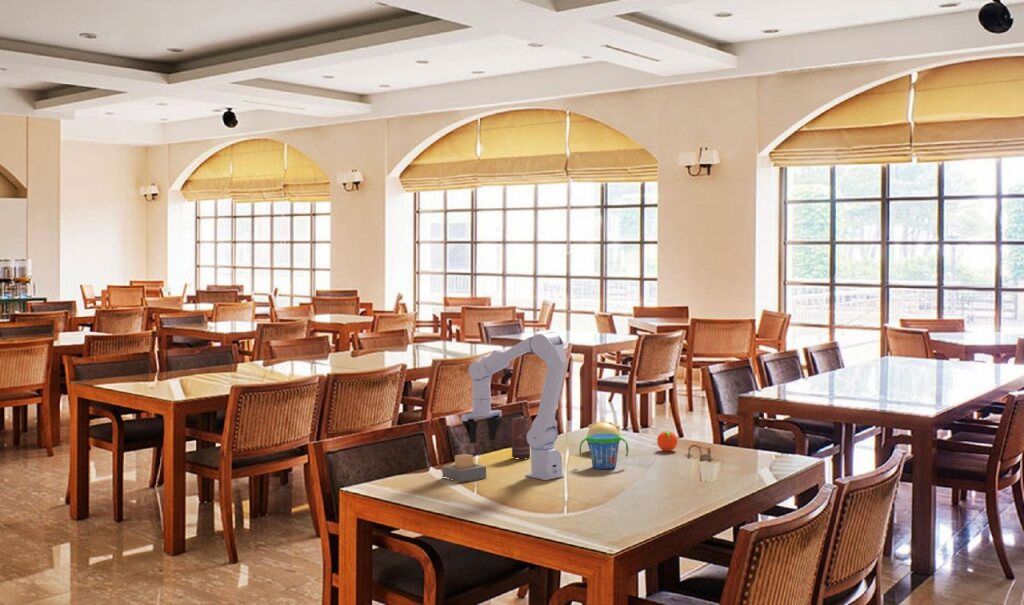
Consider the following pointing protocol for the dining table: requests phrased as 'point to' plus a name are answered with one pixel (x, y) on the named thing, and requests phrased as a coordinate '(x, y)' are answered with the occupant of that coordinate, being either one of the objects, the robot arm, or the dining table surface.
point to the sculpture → (603, 428)
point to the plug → (463, 461)
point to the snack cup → (604, 449)
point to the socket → (464, 473)
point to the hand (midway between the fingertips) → (482, 441)
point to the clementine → (667, 441)
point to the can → (520, 437)
